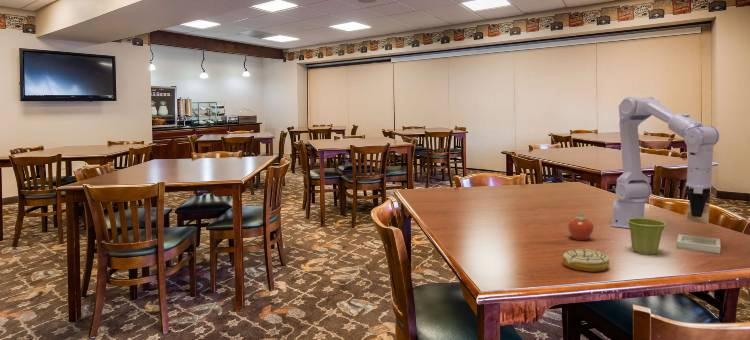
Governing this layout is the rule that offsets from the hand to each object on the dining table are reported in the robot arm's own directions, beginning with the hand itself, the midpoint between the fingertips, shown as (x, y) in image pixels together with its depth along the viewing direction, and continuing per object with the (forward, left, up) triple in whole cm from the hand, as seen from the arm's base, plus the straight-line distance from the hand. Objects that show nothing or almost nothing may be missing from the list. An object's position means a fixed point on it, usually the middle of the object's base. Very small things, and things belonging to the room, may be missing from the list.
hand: (696, 214), depth 132 cm
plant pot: (-11, -15, -9) cm, 21 cm away
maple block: (0, 0, -2) cm, 2 cm away
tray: (+1, -1, -9) cm, 9 cm away
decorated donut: (-22, -37, -10) cm, 44 cm away
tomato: (-29, -10, -9) cm, 32 cm away
